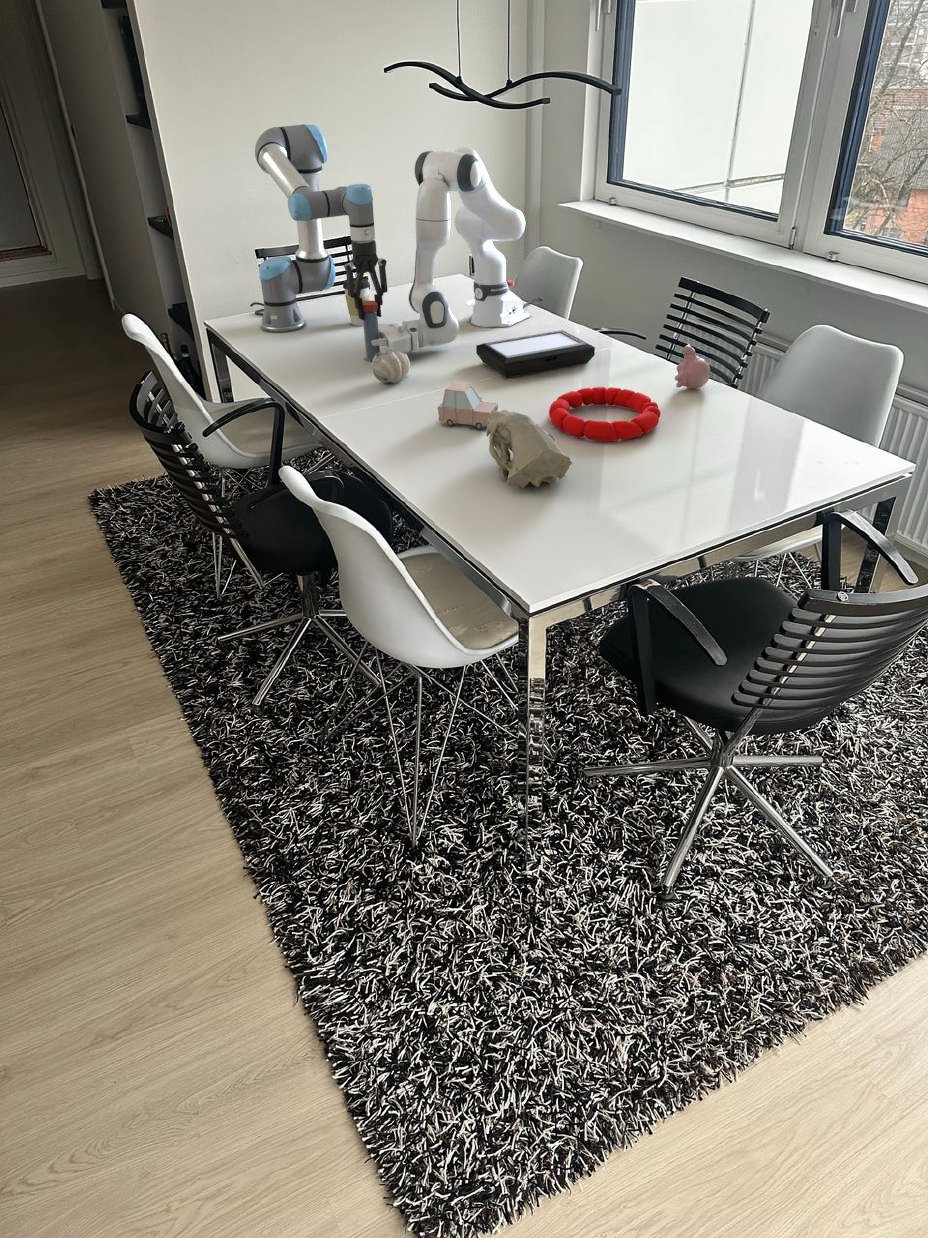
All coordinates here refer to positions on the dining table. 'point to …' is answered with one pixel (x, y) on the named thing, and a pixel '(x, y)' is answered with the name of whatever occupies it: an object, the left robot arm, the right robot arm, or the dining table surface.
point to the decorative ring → (604, 428)
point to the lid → (370, 306)
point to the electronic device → (535, 353)
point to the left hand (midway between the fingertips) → (369, 317)
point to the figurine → (692, 370)
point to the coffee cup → (351, 304)
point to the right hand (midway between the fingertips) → (369, 339)
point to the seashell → (390, 366)
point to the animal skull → (525, 450)
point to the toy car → (465, 406)
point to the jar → (371, 334)
